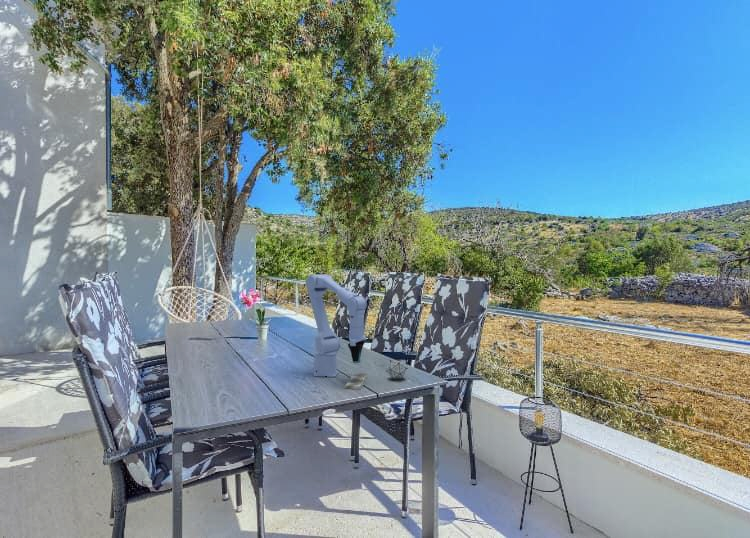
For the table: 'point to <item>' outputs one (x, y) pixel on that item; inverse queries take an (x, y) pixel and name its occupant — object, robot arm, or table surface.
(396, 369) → the game die
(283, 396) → the table surface
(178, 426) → the table surface
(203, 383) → the table surface
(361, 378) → the board
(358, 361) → the pawn
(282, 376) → the table surface
